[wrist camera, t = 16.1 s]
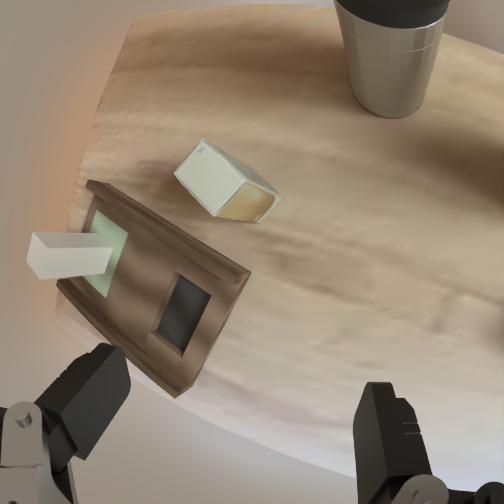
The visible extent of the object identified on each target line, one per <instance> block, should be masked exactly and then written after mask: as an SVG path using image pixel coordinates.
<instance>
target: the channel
mask: <svg viewBox="0 0 504 504" xmlns="http://www.w3.org/2000/svg"><path fill="white" fill-rule="evenodd" d="M86 188H88V189H89V190H91V191H92V192H93V193H95V195H94V198H93V201H92V204H91V206H90V209H89V212H88V215H87V218H86V221H85V224H84V227H83V230H82V233H97V234H98V235H99V236H100V237H101V238H103V239H104V240H105V241H106V242H108V243H109V244H110V245H111V246H112V247H113V250H112V253H111V255H110V258H109V261H108V264H107V267H106V270H105V273H104V274H95V275H85V276H75V277H69V278H68V279H60V280H57V284H56V286H57V287H58V288H59V290H60V291H61V292H62V293H63V294H64V295H65V296H66V298H67V299H68V300H69V301H70V302H71V303H72V304H73V305H74V306H75V307H76V308H77V309H78V311H79V312H80V313H81V314H82V315H83V316H84V317H85V318H86V319H87V320H88V321H89V322H90V323H91V324H92V325H93V326H94V327H95V328H96V329H97V330H98V331H99V332H100V333H101V334H102V335H103V336H104V337H105V338H106V339H107V340H108V341H109V342H110V343H111V344H112V345H115V346H118V347H121V348H122V349H123V350H124V353H125V357H126V358H127V359H128V360H130V361H131V362H132V363H133V364H134V365H135V366H136V367H137V368H139V369H140V370H141V371H142V372H143V373H144V374H145V375H147V376H148V377H149V378H150V379H151V380H153V381H154V382H155V383H156V384H157V385H159V386H160V387H161V388H162V389H163V390H165V391H166V392H167V393H168V394H170V395H171V396H172V397H173V398H177V397H178V396H179V395H181V394H182V393H184V392H185V391H186V390H188V389H189V388H191V387H192V386H193V384H194V382H195V380H196V378H197V376H198V374H199V372H200V371H201V369H202V367H203V365H204V363H205V361H206V359H207V357H208V355H209V353H210V351H211V350H212V348H213V346H214V344H215V342H216V340H217V338H218V336H219V334H220V332H221V330H222V328H223V326H224V325H225V323H226V321H227V319H228V317H229V315H230V313H231V311H232V309H233V307H234V305H235V303H236V301H237V299H238V298H239V296H240V294H241V292H242V290H243V288H244V286H245V284H246V282H247V280H248V278H249V276H250V274H251V272H250V271H248V270H247V269H245V268H243V267H242V266H240V265H238V264H237V263H235V262H234V261H232V260H230V259H229V258H227V257H225V256H224V255H222V254H220V253H219V252H217V251H216V250H214V249H212V248H211V247H209V246H207V245H206V244H204V243H203V242H201V241H199V240H198V239H196V238H194V237H193V236H191V235H190V234H188V233H186V232H185V231H183V230H181V229H180V228H178V227H177V226H175V225H173V224H172V223H170V222H169V221H167V220H165V219H164V218H162V217H161V216H159V215H157V214H156V213H154V212H153V211H151V210H149V209H148V208H146V207H145V206H143V205H141V204H140V203H138V202H137V201H135V200H134V199H132V198H130V197H129V196H127V195H126V194H124V193H123V192H121V191H119V190H118V189H116V188H115V187H113V186H111V185H110V184H108V183H103V182H98V181H93V180H88V181H87V184H86Z"/></svg>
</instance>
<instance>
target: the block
mask: <svg viewBox="0 0 504 504" xmlns="http://www.w3.org/2000/svg"><path fill="white" fill-rule="evenodd" d="M112 250H113V247H112V246H111V245H110V244H109V243H108V242H106V241H105V240H104V239H103V238H101V237H100V236H99V235H98V234H97V233H68V232H64V233H63V232H33V234H32V238H31V242H30V247H29V251H28V257H27V263H28V265H29V266H30V267H31V268H32V270H33V271H34V272H35V274H36V275H37V277H38V278H39V279H40V280H44V279H55V278H65V277H75V276H85V275H95V274H104V273H105V270H106V267H107V264H108V261H109V258H110V255H111V253H112Z"/></svg>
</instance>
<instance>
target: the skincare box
mask: <svg viewBox="0 0 504 504" xmlns="http://www.w3.org/2000/svg"><path fill="white" fill-rule="evenodd" d="M174 175H175V176H176V177H177V178H178V180H179V181H180V182H181V183H182V184H183V186H184V187H185V188H186V189H187V190H188V191H189V192H190V193H191V194H192V195H193V196H194V198H195V199H196V200H197V201H198V202H199V203H200V204H201V205H202V206H203V207H204V208H205V209H206V210H207V211H208V212H209V213H210V214H211V215H212V216H213V217H219V218H226V219H233V220H239V221H245V222H252V223H258V224H259V223H260V222H261V221H262V220H263V219H264V218H266V217H267V215H268V214H269V213H270V212H271V211H272V210H273V209H274V208H275V207H276V206H277V205H278V204H279V203H280V202H281V201H282V197H281V196H280V195H279V194H278V192H277V191H276V190H275V189H274V188H273V187H272V186H271V185H269V184H268V183H267V182H266V181H265V180H264V179H263V178H262V177H261V176H260V175H259V174H258V173H257V172H255V171H254V170H253V169H252V168H251V167H250V166H248V165H246V164H245V163H243V162H242V161H240V160H238V159H237V158H235V157H233V156H232V155H230V154H228V153H227V152H225V151H223V150H222V149H220V148H218V147H217V146H215V145H213V144H212V143H210V142H208V141H206V140H205V139H201V140H200V141H199V142H198V144H197V145H196V146H195V147H194V148H193V149H192V150H191V152H190V153H189V154H188V155H187V156H186V157H185V159H184V160H183V161H182V162H181V164H180V165H179V166H178V168H177V169H176V170H175V172H174Z"/></svg>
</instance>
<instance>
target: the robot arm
mask: <svg viewBox="0 0 504 504" xmlns="http://www.w3.org/2000/svg"><path fill="white" fill-rule="evenodd" d="M449 1H450V0H334V4H335V8H336V12H337V16H338V19H339V24H340V28H341V33H342V37H343V42H344V47H345V52H346V57H347V62H348V68H349V74H350V80H351V86H352V90H353V93H354V95H355V97H356V99H357V100H358V101H359V102H360V104H361V105H362V106H364V107H365V108H366V109H367V110H369V111H370V112H372V113H374V114H376V115H379V116H382V117H387V118H400V117H405V116H407V115H410V114H412V113H413V112H414V111H416V110H417V109H418V108H419V106H420V105H421V103H422V101H423V99H424V96H425V93H426V89H427V86H428V83H429V80H430V76H431V73H432V69H433V66H434V62H435V58H436V55H437V51H438V47H439V43H440V39H441V35H442V30H443V25H444V21H445V16H446V12H447V7H448V3H449ZM130 386H131V381H130V376H129V371H128V367H127V363H126V358H125V353H124V350H123V349H122V348H121V347H118V346H115V345H111V344H107V343H100V344H98V345H97V346H96V348H95V349H94V350H93V351H92V352H91V353H86V354H84V355H82V356H80V357H78V358H76V359H75V360H74V361H73V362H72V363H71V364H70V365H69V366H68V367H67V370H64V371H63V372H62V373H61V374H60V377H58V378H57V379H56V380H55V381H54V382H53V383H52V384H51V385H50V386H49V387H48V388H47V389H46V390H45V391H44V393H43V394H42V395H41V396H40V397H39V398H38V399H37V400H36V401H35V402H34V403H31V402H19V403H16V404H14V405H12V406H11V407H10V408H9V409H7V408H2V407H0V504H79V503H78V499H77V494H76V489H75V483H74V478H73V472H72V466H71V463H70V459H71V458H72V456H73V455H74V456H76V457H78V458H80V459H83V460H86V458H87V457H88V455H89V454H90V452H91V451H92V449H93V447H94V446H95V444H96V443H97V442H98V440H99V438H100V437H101V435H102V434H103V432H104V431H105V429H106V428H107V426H108V425H109V423H110V422H111V420H112V419H113V417H114V416H115V414H116V413H117V411H118V410H119V408H120V407H121V405H122V404H123V402H124V401H125V399H126V398H127V396H128V394H129V392H130ZM417 422H418V421H417V418H416V415H415V412H414V409H413V408H412V406H411V405H410V404H409V403H408V402H407V401H406V399H405V398H396V396H395V393H394V389H393V386H392V384H391V383H390V382H368V383H367V384H366V386H365V388H364V391H363V394H362V397H361V400H360V402H359V405H358V408H357V411H356V413H355V417H354V422H353V437H354V448H355V460H356V474H357V489H358V504H504V484H502V483H500V482H489V483H486V484H484V485H483V486H482V487H480V488H479V489H478V490H477V491H476V492H469V491H458V490H451V489H448V488H447V486H446V485H445V483H444V482H443V481H442V480H440V479H439V478H437V477H435V476H433V474H432V472H431V468H430V464H429V460H428V456H427V453H426V449H425V445H424V442H423V438H422V435H420V432H421V431H420V428H419V425H418V424H417Z"/></svg>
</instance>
